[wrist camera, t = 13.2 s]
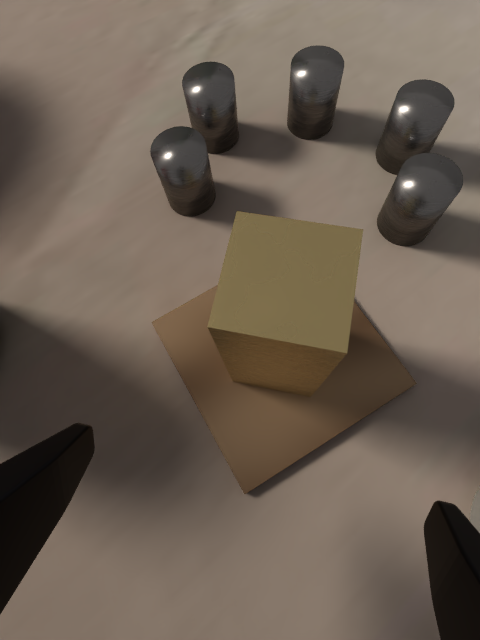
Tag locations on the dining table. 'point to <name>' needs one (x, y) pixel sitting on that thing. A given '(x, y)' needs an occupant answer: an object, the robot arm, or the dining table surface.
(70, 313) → the dining table surface
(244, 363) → the khaki tall block
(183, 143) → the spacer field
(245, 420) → the walnut board
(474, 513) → the adjustable wrench
